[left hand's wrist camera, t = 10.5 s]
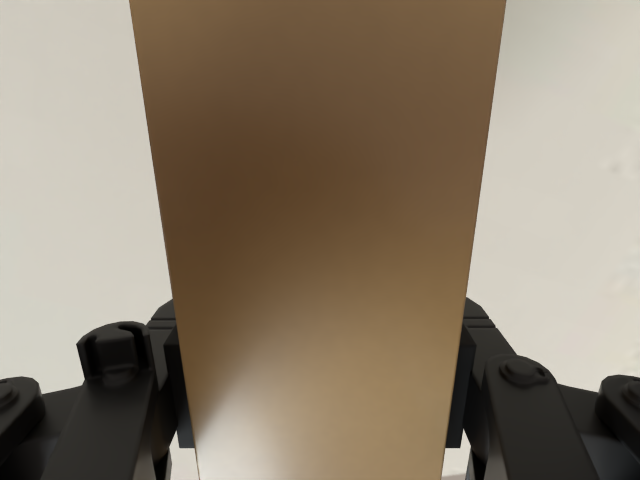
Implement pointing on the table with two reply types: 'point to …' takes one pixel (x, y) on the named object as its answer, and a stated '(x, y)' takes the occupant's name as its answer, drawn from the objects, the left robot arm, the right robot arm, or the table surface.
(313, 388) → the beam
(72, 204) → the table surface
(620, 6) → the table surface
